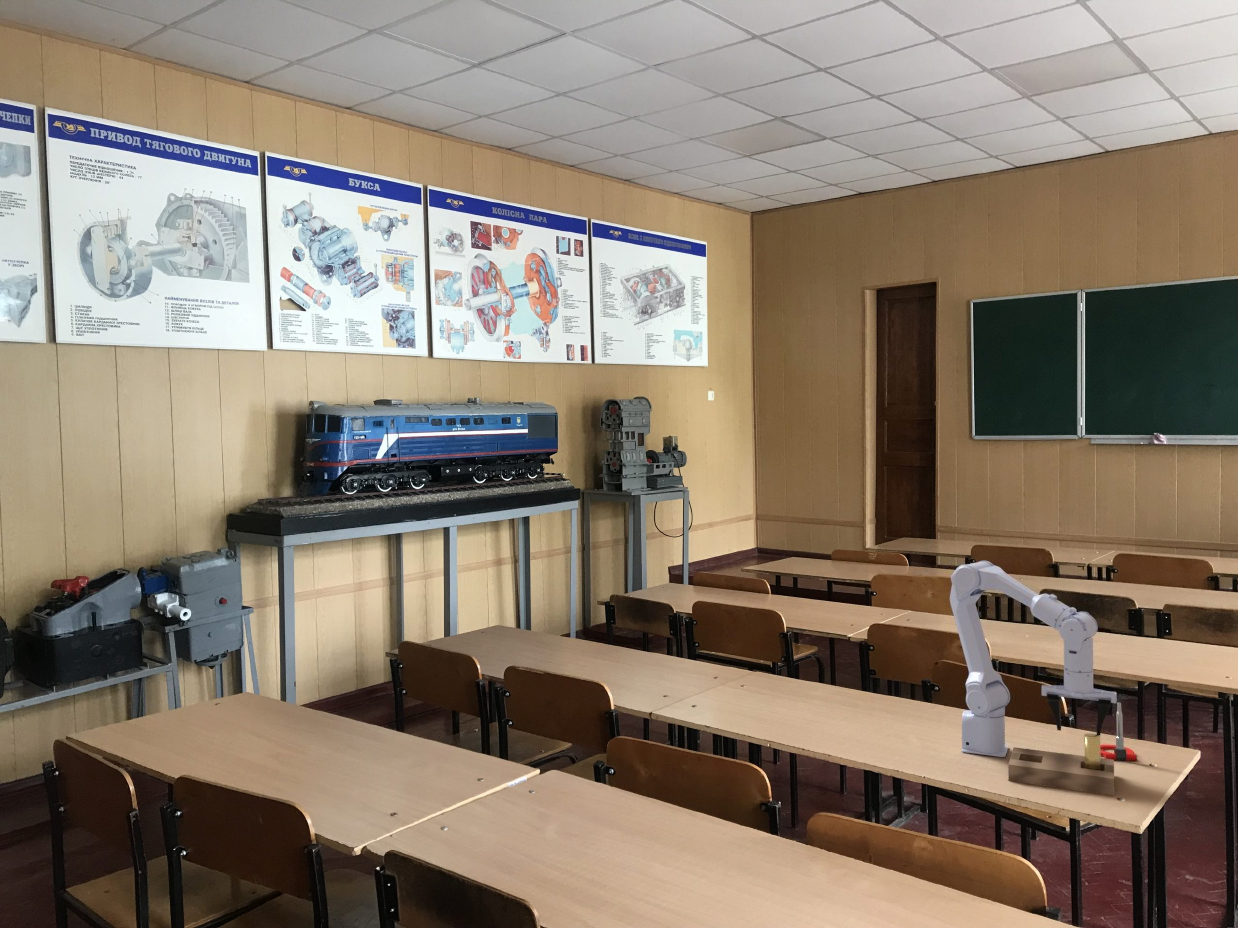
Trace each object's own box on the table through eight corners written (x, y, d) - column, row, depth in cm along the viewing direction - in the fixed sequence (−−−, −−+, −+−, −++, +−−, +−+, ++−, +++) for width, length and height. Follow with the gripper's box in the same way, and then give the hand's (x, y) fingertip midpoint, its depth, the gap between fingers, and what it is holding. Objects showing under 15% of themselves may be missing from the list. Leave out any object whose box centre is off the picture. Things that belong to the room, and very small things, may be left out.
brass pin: (1084, 783, 197) (1084, 736, 197) (1084, 778, 200) (1084, 732, 200) (1100, 785, 196) (1100, 738, 196) (1100, 780, 199) (1099, 734, 199)
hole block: (1008, 780, 200) (1008, 764, 200) (1013, 762, 211) (1013, 747, 211) (1114, 795, 191) (1113, 778, 191) (1114, 775, 201) (1113, 759, 201)
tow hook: (1087, 748, 220) (1101, 760, 211) (1086, 693, 220) (1100, 703, 211) (1125, 749, 219) (1141, 761, 209) (1124, 694, 219) (1140, 704, 210)
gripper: (1040, 670, 202) (1040, 732, 203) (1116, 677, 195) (1116, 741, 196) (1042, 662, 208) (1043, 722, 209) (1116, 669, 201) (1116, 731, 202)
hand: (1078, 731), depth 203 cm, fingers open, 7 cm apart
